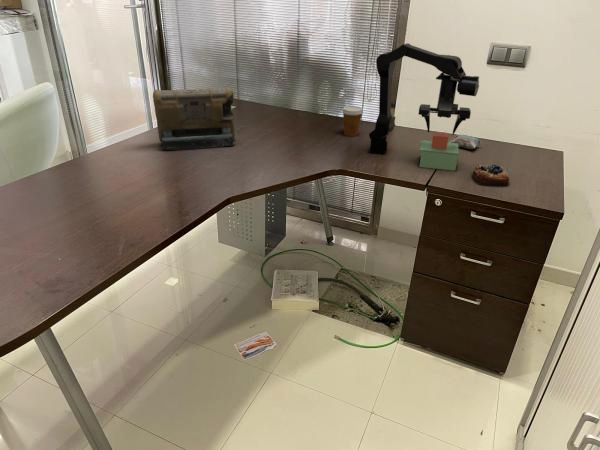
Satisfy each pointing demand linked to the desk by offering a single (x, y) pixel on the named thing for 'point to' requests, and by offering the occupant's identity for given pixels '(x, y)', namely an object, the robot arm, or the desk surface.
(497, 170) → the pastry
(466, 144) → the packaged food
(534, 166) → the desk surface
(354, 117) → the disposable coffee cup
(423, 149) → the lunchbox lid
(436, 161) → the lunchbox
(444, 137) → the red cube
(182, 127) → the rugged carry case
